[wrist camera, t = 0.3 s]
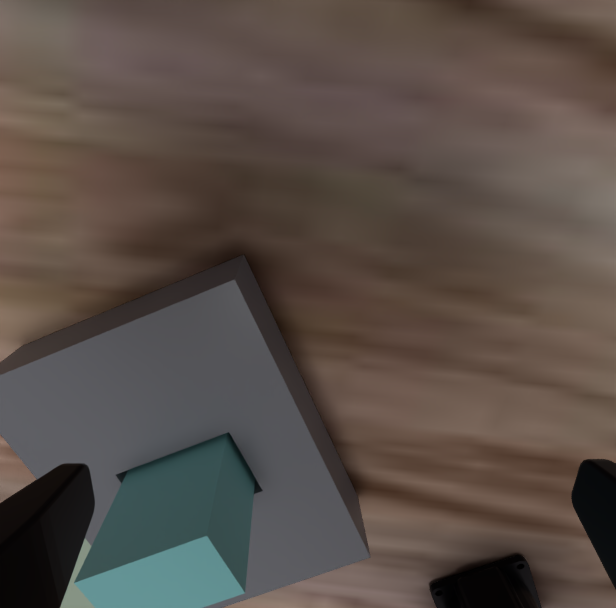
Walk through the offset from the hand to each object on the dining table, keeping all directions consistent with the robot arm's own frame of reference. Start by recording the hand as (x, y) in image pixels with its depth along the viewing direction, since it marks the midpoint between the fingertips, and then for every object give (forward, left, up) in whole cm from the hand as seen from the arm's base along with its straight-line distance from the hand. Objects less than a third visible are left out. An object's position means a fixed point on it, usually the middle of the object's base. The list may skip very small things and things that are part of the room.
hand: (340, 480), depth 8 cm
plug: (-6, +8, -14) cm, 17 cm away
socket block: (-6, +8, -14) cm, 17 cm away
